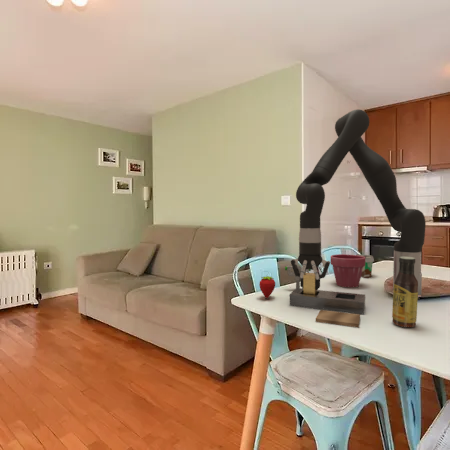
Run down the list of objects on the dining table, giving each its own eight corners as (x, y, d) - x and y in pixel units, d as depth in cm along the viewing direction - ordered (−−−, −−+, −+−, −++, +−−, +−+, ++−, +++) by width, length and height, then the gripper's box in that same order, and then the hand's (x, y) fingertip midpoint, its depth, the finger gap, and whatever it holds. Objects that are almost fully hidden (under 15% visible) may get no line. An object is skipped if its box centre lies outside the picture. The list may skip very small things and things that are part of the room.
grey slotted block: (365, 305, 113) (365, 294, 113) (364, 314, 104) (364, 302, 104) (296, 298, 123) (296, 287, 123) (289, 305, 114) (289, 294, 114)
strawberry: (277, 296, 126) (277, 270, 125) (272, 301, 119) (272, 274, 118) (263, 294, 128) (262, 269, 128) (256, 300, 121) (256, 273, 121)
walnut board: (360, 317, 101) (360, 314, 101) (358, 327, 93) (358, 324, 93) (320, 312, 106) (320, 309, 106) (315, 321, 98) (315, 318, 98)
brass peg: (316, 300, 117) (316, 273, 116) (315, 304, 113) (314, 275, 113) (305, 299, 119) (305, 272, 118) (303, 302, 115) (303, 274, 114)
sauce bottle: (387, 321, 98) (388, 255, 97) (407, 320, 98) (408, 255, 97) (401, 329, 91) (402, 259, 90) (422, 328, 92) (423, 258, 91)
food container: (378, 278, 154) (378, 257, 154) (365, 278, 154) (365, 258, 154) (367, 273, 166) (367, 254, 166) (355, 273, 166) (355, 254, 166)
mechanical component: (310, 291, 132) (310, 267, 132) (285, 290, 134) (285, 266, 134) (310, 289, 135) (310, 266, 135) (285, 288, 137) (285, 265, 137)
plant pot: (349, 280, 152) (349, 253, 151) (372, 287, 138) (373, 257, 138) (323, 283, 147) (323, 255, 146) (345, 290, 133) (345, 259, 133)
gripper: (332, 240, 115) (332, 288, 116) (292, 239, 121) (292, 284, 122) (329, 242, 108) (329, 293, 109) (287, 241, 114) (287, 289, 115)
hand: (310, 288), depth 116 cm, fingers closed on brass peg, 4 cm apart
